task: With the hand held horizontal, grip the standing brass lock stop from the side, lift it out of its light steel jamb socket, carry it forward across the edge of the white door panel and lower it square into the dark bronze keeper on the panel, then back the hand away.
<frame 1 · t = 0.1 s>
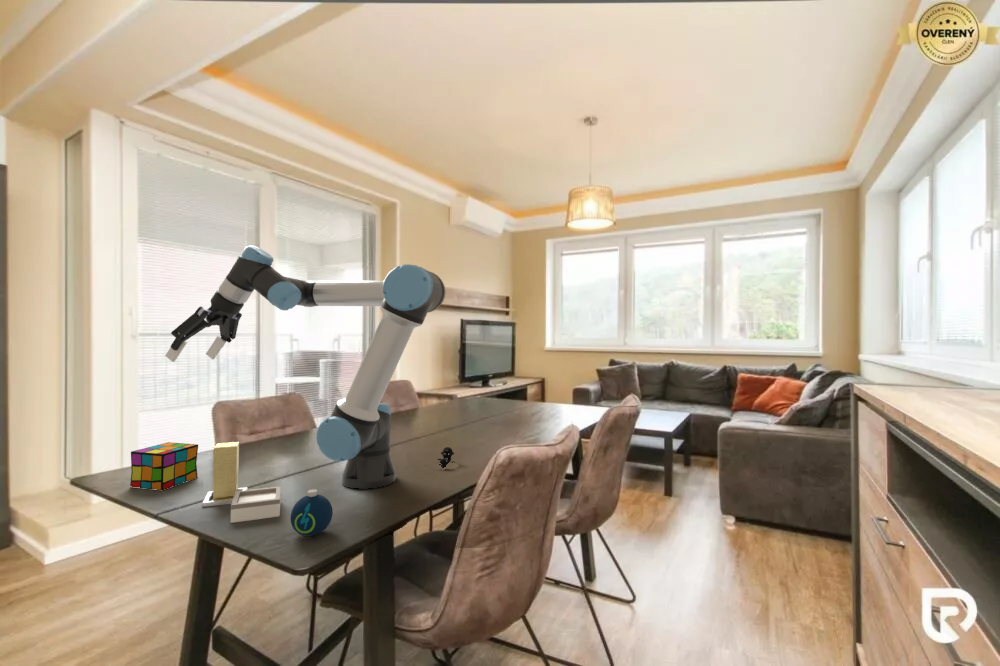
hand: (190, 357, 128), 36 cm above the table, tool tilted 35°, fingers open, 13 cm apart
toy: (165, 483, 130), on the table
christmas ornament: (311, 535, 98), on the table
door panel: (257, 511, 110), on the table
lock stop: (226, 471, 118), in the jamb socket
toy figurine: (445, 467, 151), on the table
jamb socket: (225, 498, 118), on the table
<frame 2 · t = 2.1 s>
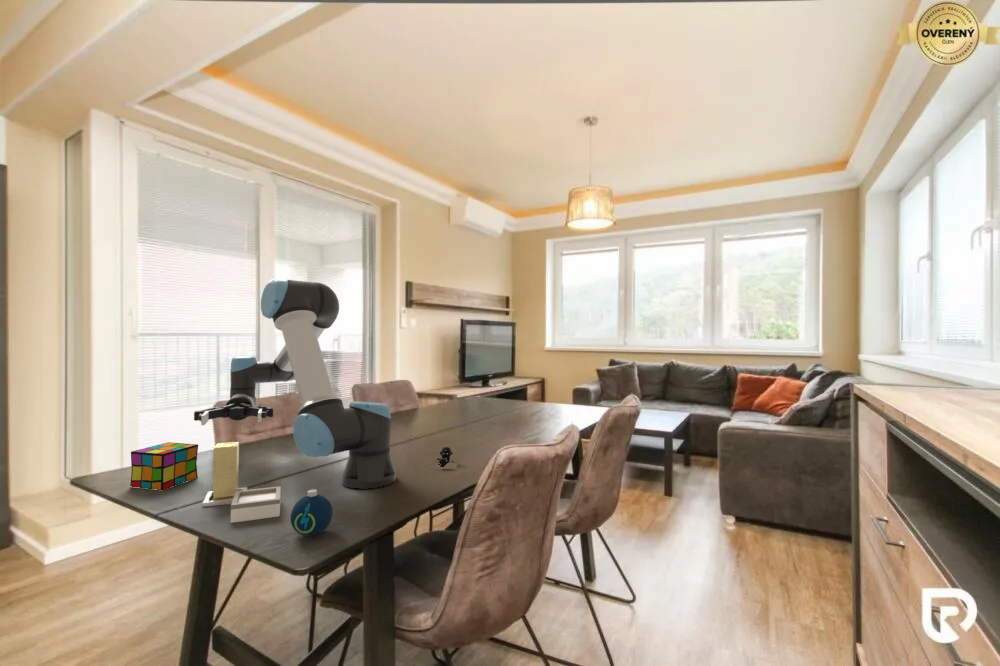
hand: (231, 418, 127), 19 cm above the table, tool horizontal, fingers open, 13 cm apart
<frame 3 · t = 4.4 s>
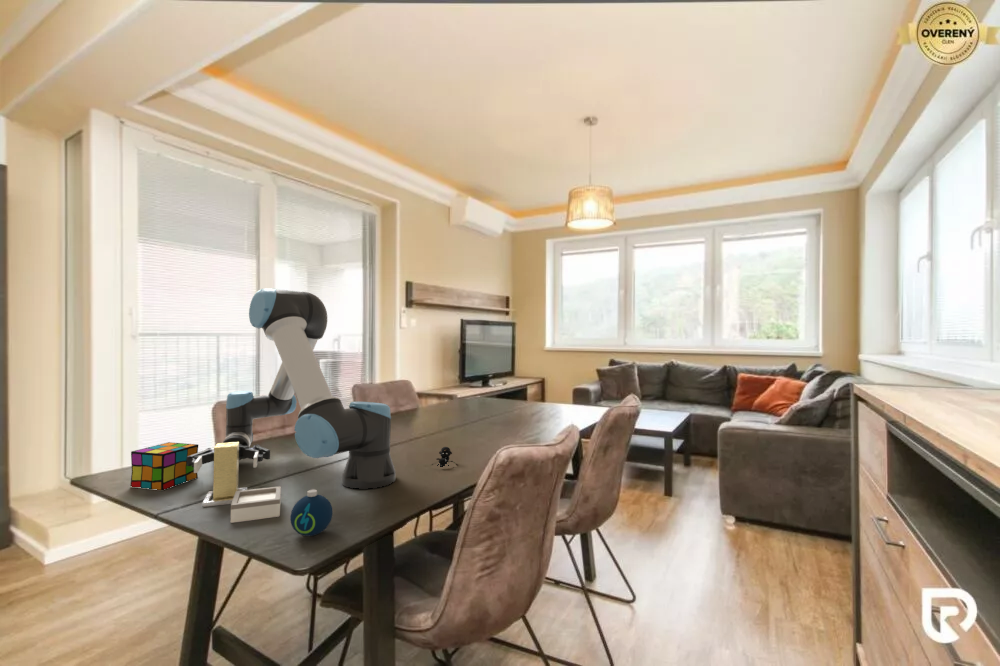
hand: (225, 465, 121), 8 cm above the table, tool horizontal, fingers open, 13 cm apart
nothing on the table moved.
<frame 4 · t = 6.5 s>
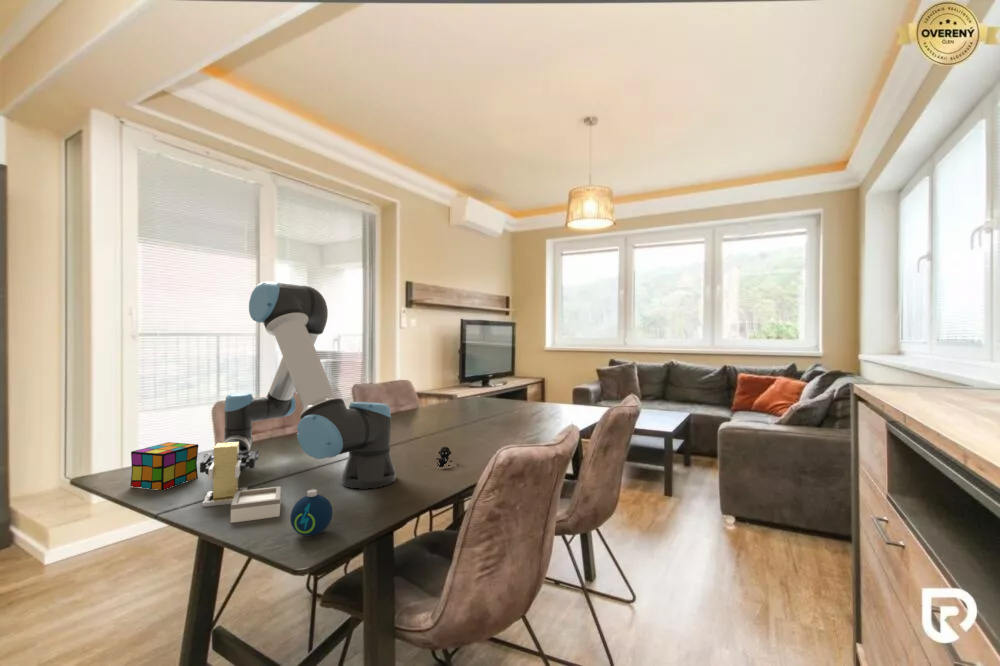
hand: (223, 473, 113), 8 cm above the table, tool horizontal, fingers closed on lock stop, 5 cm apart
lock stop: (226, 471, 118), in the jamb socket, touching gripper
everything else where it was.
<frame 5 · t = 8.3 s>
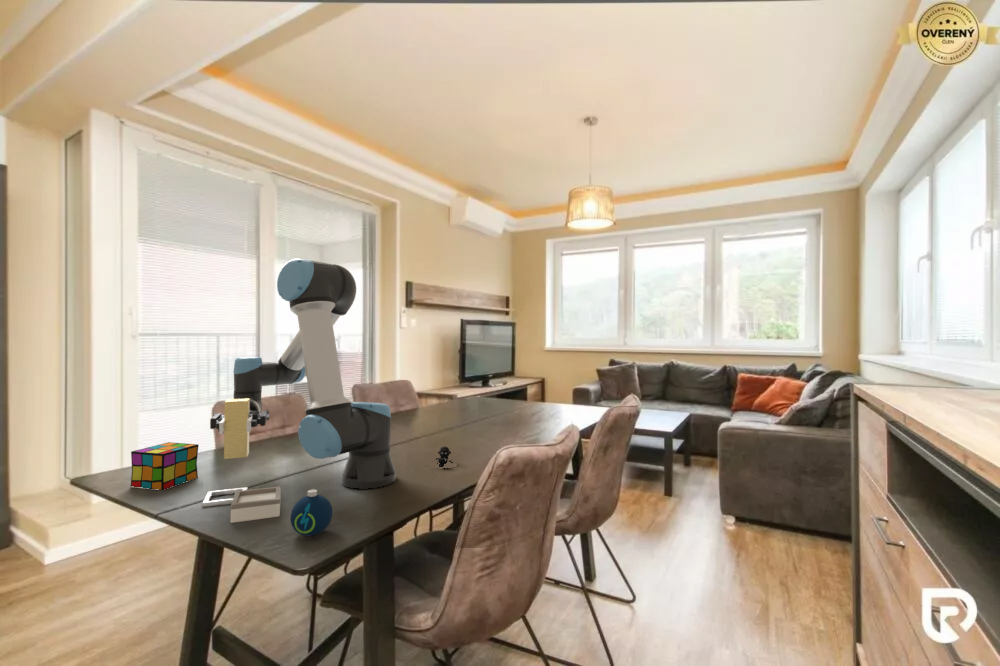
hand: (234, 427, 110), 20 cm above the table, tool horizontal, fingers closed on lock stop, 5 cm apart
lock stop: (237, 427, 115), point 19 cm above the table, touching gripper
when the fingers open (12 cm above the table, at t = 10.5 s): lock stop drops 1 cm, resting on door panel.
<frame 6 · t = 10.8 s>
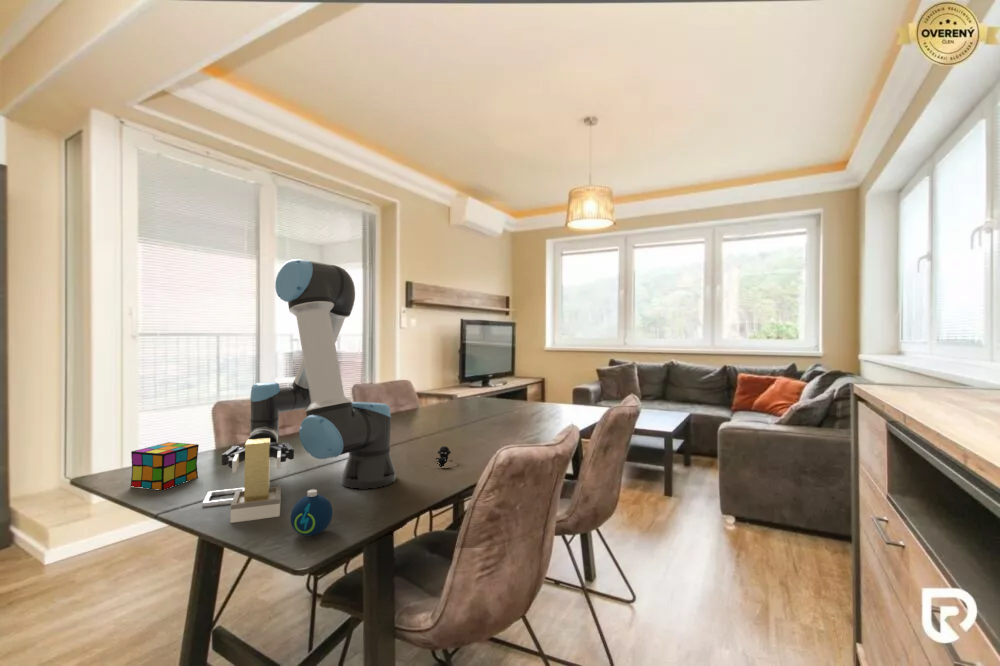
hand: (256, 464, 106), 12 cm above the table, tool horizontal, fingers open, 8 cm apart
lock stop: (257, 470, 110), in the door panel, point 10 cm above the table
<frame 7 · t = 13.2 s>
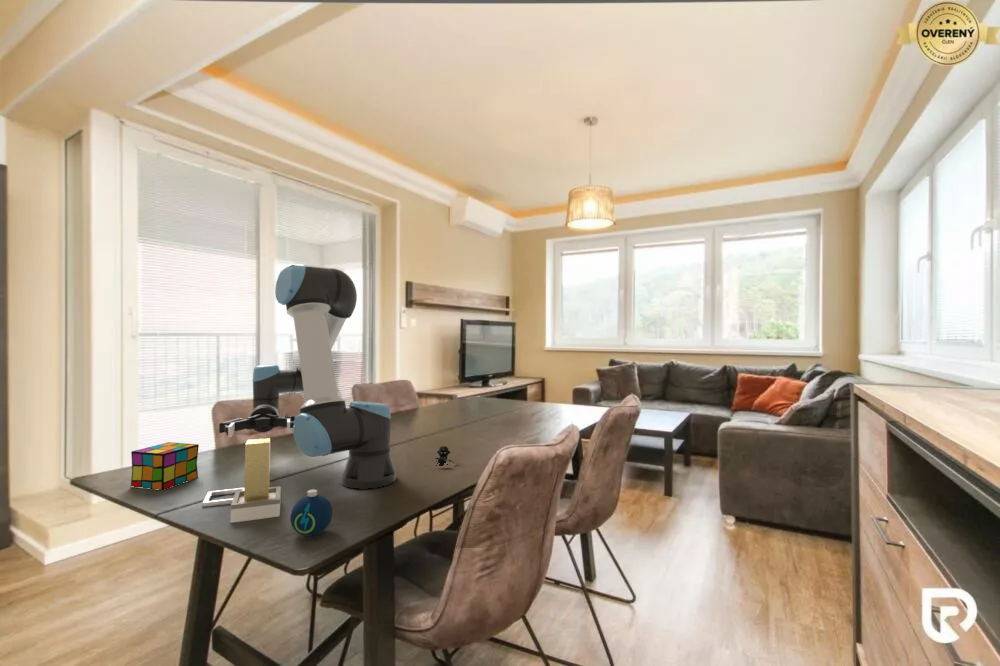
hand: (259, 429, 119), 18 cm above the table, tool horizontal, fingers open, 13 cm apart
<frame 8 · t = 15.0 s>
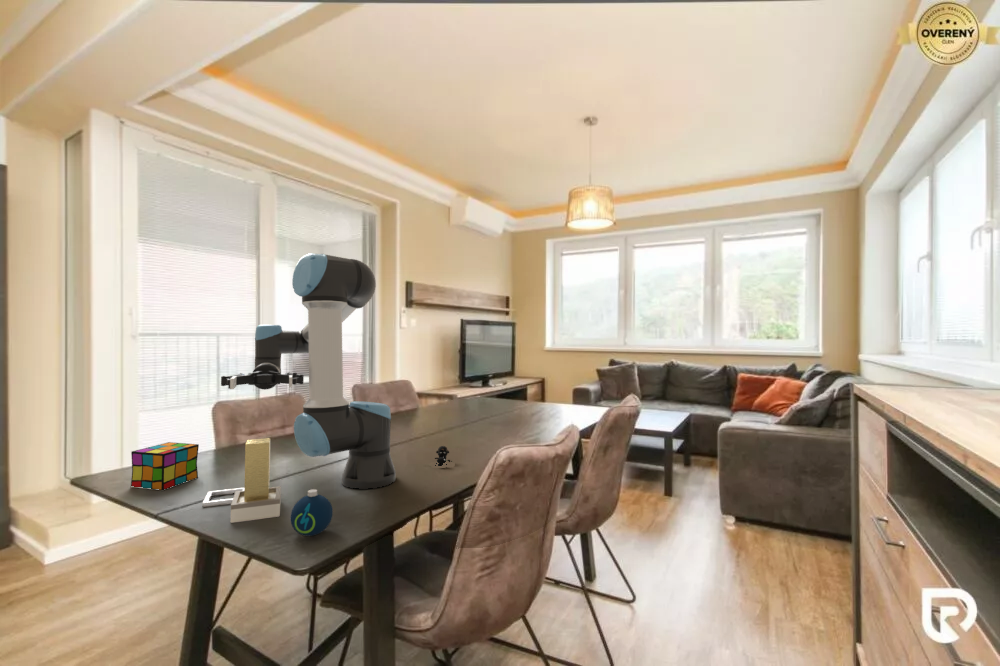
hand: (261, 383, 119), 30 cm above the table, tool horizontal, fingers open, 13 cm apart
at the end: lock stop 0.1 cm off-centre on the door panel, point 10.0 cm above the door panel's base; lock stop tilted 0°; the gripper is holding nothing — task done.
